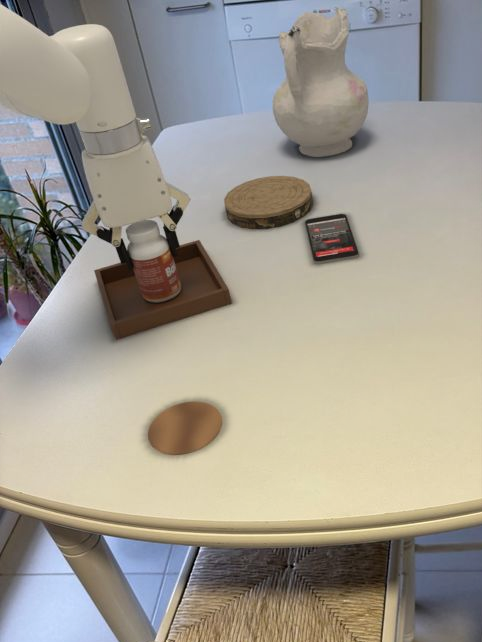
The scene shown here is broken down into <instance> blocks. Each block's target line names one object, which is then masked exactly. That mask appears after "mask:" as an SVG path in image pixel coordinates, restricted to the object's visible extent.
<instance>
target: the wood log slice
mask: <svg viewBox="0 0 482 642" xmlns="http://www.w3.org/2000/svg"><path fill="white" fill-rule="evenodd" d="M312 192H313V191H312V188H311V184H310V183H308V182H307V181H306V180H305V179H302V178H299V177H295V176H290V175H270V176H269V175H268V176H263V177H257V178H254V179H250V180H247V181H245V182H243V183H241V184H238V185H237V186H234V187H233V188H232V189H231V190H229V191H228V192H227V194H226V195H225V196H224V198H223V202H224V208H225V213H226V218H227V220H228V221H229V222H230V223H231V225H235V227H236V226H237V227H239V228H241V229H248V230H270V229H276V228H281V227H284V226H288V225H290V224H293V223H296V222H297V221H299V220H301V219H303V218H305V216H306V215H308V214H309V213H310V212H311V211H312V208H313V205H314V201H313V193H312Z"/></svg>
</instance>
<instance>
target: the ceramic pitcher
mask: <svg viewBox="0 0 482 642" xmlns="http://www.w3.org/2000/svg"><path fill="white" fill-rule="evenodd" d="M346 9H347V8H344V7H343V8H341V7H337V6H335V7H334V10H335V13H334V15H333V16H332V17H330V18H329V17H328V16H326V15H324V14H322V13H320V12H317V13H315V12H312V11H306V12H304V13H301V15H300V16H298V17H297V18H296V19H295V21H294V23H293V25H292V27H291V29H289V30H288V31H287V32H286V31H280V33H279V35H278V43H279V48H280V50H281V53H282V55H283V63H284V71H285V74H286V75H285V78H284V80H283V81H282V82H281V84H280V85H279V87H278V88H277V90H276V91H275V93H274V95H273V99H272V113H273V117H274V120H275V122H276V125H277V127H278V128H279V129H280V131H281V132H282V133H283V134H284V135H285V136H286V137H287V138H288V139H289V140H290V141H292V142H293V143H295V144H297V145H299V147H298V150H299V151H300V153H301V154H303V155H305V156H307V157H314V158H319V157H321V158H322V157H330V156H336V155H339V154H341V153H344V152H346V151H348V150H350V149H351V148H352V147H353V141H352V140H351V138H352V137H354V136H355V135H357V133H358V132H359V131H360V130H361V128H362V127H363V125H364V123H365V121H366V119H367V116H368V113H369V105H370V101H369V91H368V87H367V84H366V83H365V81H364V80H363V79H362V78H361V77H359V76H358V75H357V74H355V73H353V72H352V70H350V69H349V68H348V66H347V64H346V49H347V43H348V40H349V36H350V32H349V30H350V29H349V25H350V23H349V18H348V15H349V14H348V13H347V10H346Z"/></svg>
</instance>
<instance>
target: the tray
mask: <svg viewBox="0 0 482 642" xmlns="http://www.w3.org/2000/svg"><path fill="white" fill-rule="evenodd" d="M179 245H180V247H179V248H176V250H177V253H178V256H177V257H175V256H174V257H173V259H174V263H175V266H176V269H177V273H178V276H179V279H180V283H181V291H180V293H179V294H178V295H177V296H176V297H174V298H172V299H170V300H168V301H164V302H159V303H154V302H150V301H147V300H146V299H145V298H144V297H143V295H142V293H141V290H140V287H139V284H138V281H137V278H136V275H135V273H134V270H133V269H132V270H128V267H127V264H126V263H124V264H121V262H117V263H114V264H111V265H107V266H104V267H100V268H96V269H94V275H95V279H96V283H97V285H98V289H99V292H100V295H101V296H100V297H101V299H102V302H103V306H104V310H105V312H106V315H107V319H108V323H109V326H110V328H111V331H112V333H113V336H114V338H115V340H116V341H117V340H120V339H123V338H127V337H130V336H133V335H137V334H139V333H143V332H146V331H148V330H152V329H155V328H158V327H161V326H164V325H165V326H166V325H168V324H171V323H175V322H177V321H178V322H179V321H180V320H184V319H186V318H187V319H188V318H191V317H193V316H196V315H197V316H198V315H200V314H202V313H206V312H210V311H213V310H215V309H219V308H221V307H225V306H229V305H231V304H233V302H232V297H231V293H230V290H229V288H228V286H227V284H226V283H225V281H224V279H223V277H222V276H221V274H220V271H218V269H217V268H216V266H215V264H214V263H213V260H212V259H211V257H210V256H209V253H208V252H207V250H206V248H205V247H204V245H203V244H202V242H201V240H200V239H197V240H195V241H194V240H193V241H190V242H187V243H183V244H179ZM172 256H173V255H172Z"/></svg>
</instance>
